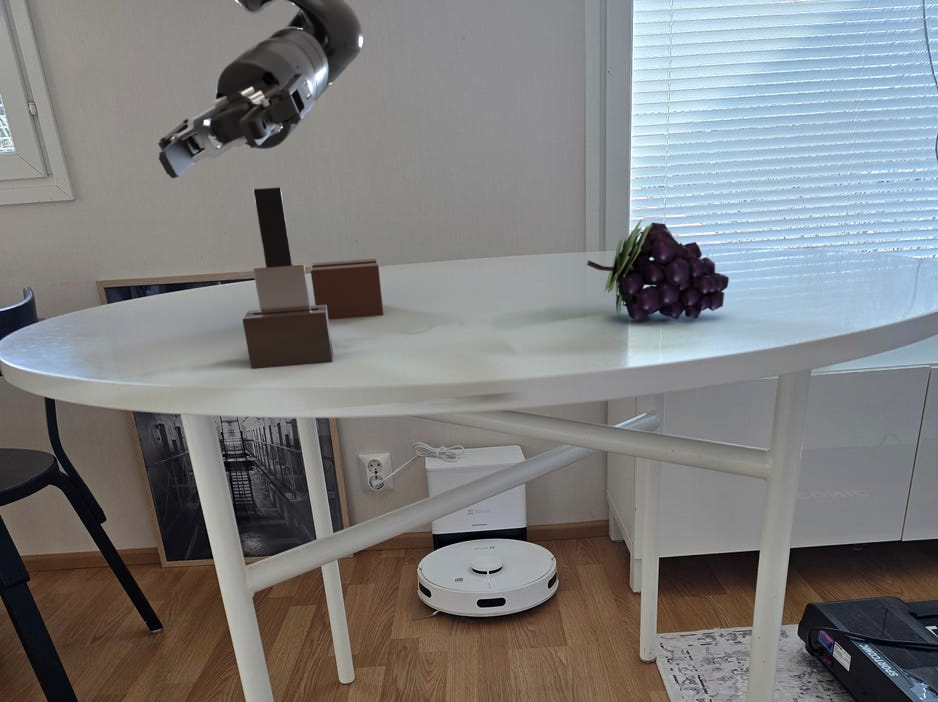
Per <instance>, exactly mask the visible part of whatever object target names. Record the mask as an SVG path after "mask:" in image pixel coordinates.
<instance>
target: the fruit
mask: <svg viewBox="0 0 938 702" xmlns="http://www.w3.org/2000/svg"><path fill="white" fill-rule="evenodd" d="M642 221H643V218H642V219H640V220H639V221H638V223H637V225H636V226H635V227H634V229H633V230H631V232H630V234H629V236H628V237H627V236H626V237H625V238H624V241H623V237H624V233H625V232H624V231H625V230H626V229H625V228H624V229H623V232H622V235H621V238H620V239H619V240H618V242H617V246H616V250H615V254H614V258H613V261H612V265H611V266H606V265H605V266H604V265H602V264H599V263H596V262H594V261H591V260H589V259H588V260H587V262H586V266H589V267H591V268H593V269H596V270H598V271H605V272H609V273H608V277H607V280H606V282H605V283H606V284H605V289H604V292H606V291H607V290H608V291H607V292H608V293H610V292H611V291H613V290H614V288H615V312H616V313H617V315H618V313H619V315H621V310H622V309H621V308H622V306H624V307H625V308H626V312H627V315H628V317H629V318H631V319H633V320H635V321H638V322H639V321H642V320H643V319H644V318H646V317H648V316H651V315H653V314H655V313H657V312H658V313H659V314H660V315H662V316H664V317H670V318H672V319H674V320H678V319H679V318H680V317H681V316H682V314H683V313H684V316H685V317H686V318H690V319H698V317H699V316H700V315H701V313H702V311H705V310H707V309H709V310H710V311H711V312H714V311H716V310H718V309H720V308H723V306H724V301H725V300H724V299H725V292H724V291H725V290H726V289H727V288H728V287H729V282H730V278H729V276H727V275H726V274H723V273H720V272H716V262H714V261H713V260H711V259H710V258H709V257H707V256H705V257H702V256H703V253H702V251H701V248H700V246H699V244H698V243H697V242H696V241H693V242H688V243H685V244H683V243H682V242H680V243H679V242H678V240H676V239H675V238H674V236H673V234H672V232H671V231H670V230H669V229H668V227H667V225H666V223H660V222H651V223H650V224H648V225H646V227H645V228H644V229H643V231H641V230H642V228H643V227H642V226H640V225H641V223H642ZM701 257H702V258H701ZM651 258H652V259H651ZM615 285H616V286H615ZM645 286H646V287H645Z"/></svg>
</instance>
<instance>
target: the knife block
mask: <svg viewBox="0 0 938 702" xmlns="http://www.w3.org/2000/svg"><path fill="white" fill-rule="evenodd" d="M310 309H311V311H301V312H289V313H276V314H263V315H261V312H260V309H252V310H251V309H250V310H247V312H246V313H245V315H244V316H243V317H242V325H243V330H244V336H245V341H246V348H247V352H248V358H249V363H250V368H251V370H259V369H269V368H270V369H271V368H280V367H282V368H283V367H291V366H304V365H305V366H306V365H316V364H317V365H318V364H329V363H333V360H334V359H333V356H334V349H333V343H332V336H331V335H332V334H331V327H330V320H329V319H328V312H327V305H315V304H314V305H310Z"/></svg>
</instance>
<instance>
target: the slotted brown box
mask: <svg viewBox="0 0 938 702" xmlns="http://www.w3.org/2000/svg"><path fill="white" fill-rule="evenodd" d="M310 276H311V277H310V278H311V284H312V291H313V299H314V305H327V312H328V319H329V321H330V320H342V319H353V318H355V319H356V318H367V317H379V316H385V315H384V313H385V312H384V306H383V305H384V304H383V294H382V284H381V275H380V267H379V264H378V261H377V259H376V258H367V259H353V260H338V261H326V262H313V263H312V265H311V269H310Z"/></svg>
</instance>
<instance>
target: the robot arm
mask: <svg viewBox="0 0 938 702" xmlns="http://www.w3.org/2000/svg"><path fill="white" fill-rule="evenodd" d="M277 1H278V0H235V2H236V3H237V4H238V5H239V6H240V8H242V9H243V10H244V11H245V12H246V13H248V14H250V15H256V14H259V13H261V12H263V11H264V10H265V9H267V8H268V7H270V6H271V5H272V4H274V3H275V2H277ZM284 1H286V2H288V3H290V4H292V5H294V6H296V7H297V8H298V11H296V13H295V14H294V15H293V16H292V18H291V19H290V20H289V21H288V22H287V23H286V25H285V26H284V27H282V28H279V29H277V30H275V31H274V32H272V33H271V34H270V35H268V36H267V37H266V38H265V39H263V40H261V41H258V42H256V43H254V44H253V45H252V46H250V47H249V48H248V49H246V50H245V51H244V52H242V53H241V54H240V55H239V56H237V57H236V58H235V59H234V60H233V61H232V62H231V63H229V64H228V65H227V66H226V67H224V69H223V70H222V71H221V73H220V75H219V77H218V79H217V83H216V88H215V89H216V90H215V100H213V101H212V102H210V104H209V107H208V108H206V109H204V110H203V111H201V112H199V113H197V114H196V115H194V116H193V117H191V118H186V119H184V120H182V122H181V123H180V124H179V125H178V126H176V127H174V129H172V131H170V132H168V133H167V134H166V135H165V136H163V137H161V138H160V139H159V141H158V142H157V145H158V146H159V148H160V150H161V151H160V152H159V153H158V160H159V162H160V163H161V166H162V167H163V169H164V171H165V173H166V174H167V175H168V176H169V177H170V178H171V179H176V178H179V177H181V176H182V175H183V174H184V173H185V172H186V171H187V170H188V169H189V168H190V167H193V166H195V163H197V162H199V161H200V160H203V158H206V159H216V158H217V157H219V156H221V155H222V154H224V153H226V152H227V151H228V150H229V151H230V149H232V148H239V147H241V146H243V145H247V146H249V147H250V148H251V149H254V148H255V149H260V150H267V149H273V148H276V147H277V146H279V145H280V144H282V143H283V142H284V141H285V140H286V139H287V138H288V137H289V136H290V135H291V133H293V131H294V130H296V128H297V127H298V126H299V125H300V123H302V121H303V120H304V119H305V118H306V117H307V115H308V114H309V112H310V110H311V109H312V107H313V106H314V104H316V102H317V101H318V99H319V98H320V97H321V96H322V95H323V94H324V93H325V92H326V90H328V89H329V87H331V85H332V84H333V83H334V82H335V81H336V80H337V79H338V78H339V76H341V74H342V73H343V72H344V71H345V70H346V69H347V68H348V66H350V65H351V64H352V62H353V61H354V60H355V59H356V58H357V57H358V56H359V54H360V53H361V52H362V49H363V46H364V39H365V38H364V37H365V36H364V30H363V27H362V24H361V21H360V18H359V16H358V15H357V13H356V11H355V10H354V9H353V7H352V6H351V5H350V3H348V2H347V1H346V0H284ZM209 136H210V137H211V138H212V140H215V141H216V142H218V143H220V144H219V145H217V146H214V145H213V143H212V141H211V140H210V138H209Z"/></svg>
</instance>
